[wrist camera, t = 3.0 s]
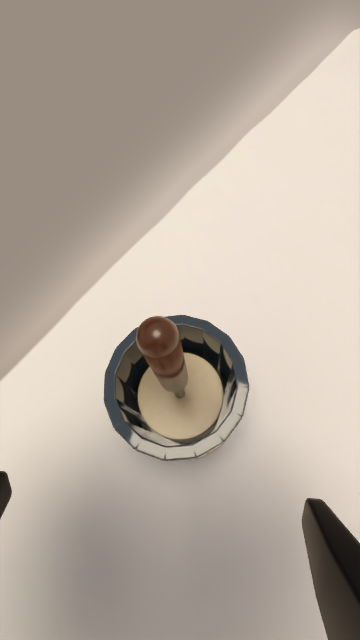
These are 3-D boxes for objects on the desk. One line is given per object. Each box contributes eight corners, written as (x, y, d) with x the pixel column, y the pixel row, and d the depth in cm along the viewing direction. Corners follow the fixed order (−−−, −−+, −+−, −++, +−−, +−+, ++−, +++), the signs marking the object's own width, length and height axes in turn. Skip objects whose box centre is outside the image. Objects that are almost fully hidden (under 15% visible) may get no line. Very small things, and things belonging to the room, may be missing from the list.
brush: (189, 460, 19) (160, 464, 7) (134, 409, 21) (36, 341, 9) (235, 399, 21) (276, 315, 9) (180, 356, 22) (150, 235, 10)
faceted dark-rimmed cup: (191, 483, 19) (183, 498, 12) (118, 412, 22) (74, 389, 15) (253, 399, 21) (277, 369, 14) (179, 342, 24) (168, 292, 17)
